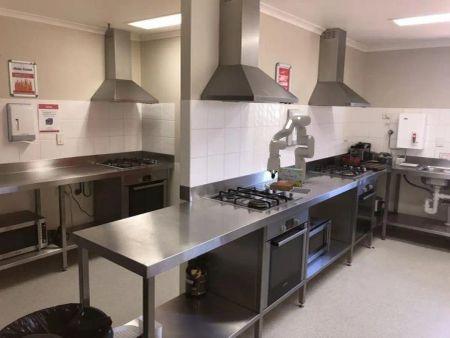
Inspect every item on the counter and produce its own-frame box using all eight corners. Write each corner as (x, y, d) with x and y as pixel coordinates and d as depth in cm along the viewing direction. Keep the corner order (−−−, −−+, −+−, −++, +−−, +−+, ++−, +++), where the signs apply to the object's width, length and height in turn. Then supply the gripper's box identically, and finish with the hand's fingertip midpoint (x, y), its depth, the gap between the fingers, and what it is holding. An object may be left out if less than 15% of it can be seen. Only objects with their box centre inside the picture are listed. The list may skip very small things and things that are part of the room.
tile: (280, 183, 301) (280, 180, 301) (287, 183, 299) (287, 180, 299) (277, 184, 293) (277, 181, 292) (285, 185, 291) (285, 182, 290)
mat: (294, 188, 301) (294, 187, 301) (310, 189, 296) (310, 189, 296) (290, 191, 286) (290, 191, 286) (307, 193, 281) (307, 193, 281)
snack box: (276, 185, 315) (277, 167, 312) (278, 184, 320) (279, 166, 317) (301, 187, 305) (301, 169, 303) (302, 186, 310) (303, 168, 308)
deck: (273, 186, 306) (274, 181, 306) (293, 188, 300) (293, 183, 300) (269, 189, 293) (269, 184, 293) (289, 191, 287) (289, 186, 287)
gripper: (284, 156, 296) (283, 178, 299) (266, 155, 302) (265, 177, 304) (282, 157, 289) (280, 180, 292) (263, 155, 295) (262, 178, 297)
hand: (272, 178), depth 298 cm, fingers closed
